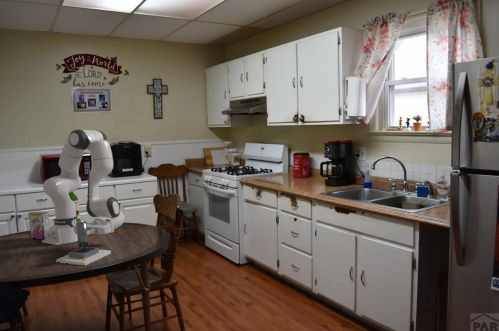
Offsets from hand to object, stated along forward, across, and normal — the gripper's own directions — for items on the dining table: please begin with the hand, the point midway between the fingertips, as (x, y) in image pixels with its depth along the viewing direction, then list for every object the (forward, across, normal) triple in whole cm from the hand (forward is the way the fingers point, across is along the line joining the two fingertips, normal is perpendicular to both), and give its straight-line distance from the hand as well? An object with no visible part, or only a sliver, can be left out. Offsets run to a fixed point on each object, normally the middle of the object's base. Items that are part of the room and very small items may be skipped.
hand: (81, 232), depth 199 cm
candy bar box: (-24, -56, +13) cm, 63 cm away
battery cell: (-1, 0, +7) cm, 7 cm away
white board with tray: (-1, 0, +13) cm, 13 cm away
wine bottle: (-46, -52, +13) cm, 71 cm away
